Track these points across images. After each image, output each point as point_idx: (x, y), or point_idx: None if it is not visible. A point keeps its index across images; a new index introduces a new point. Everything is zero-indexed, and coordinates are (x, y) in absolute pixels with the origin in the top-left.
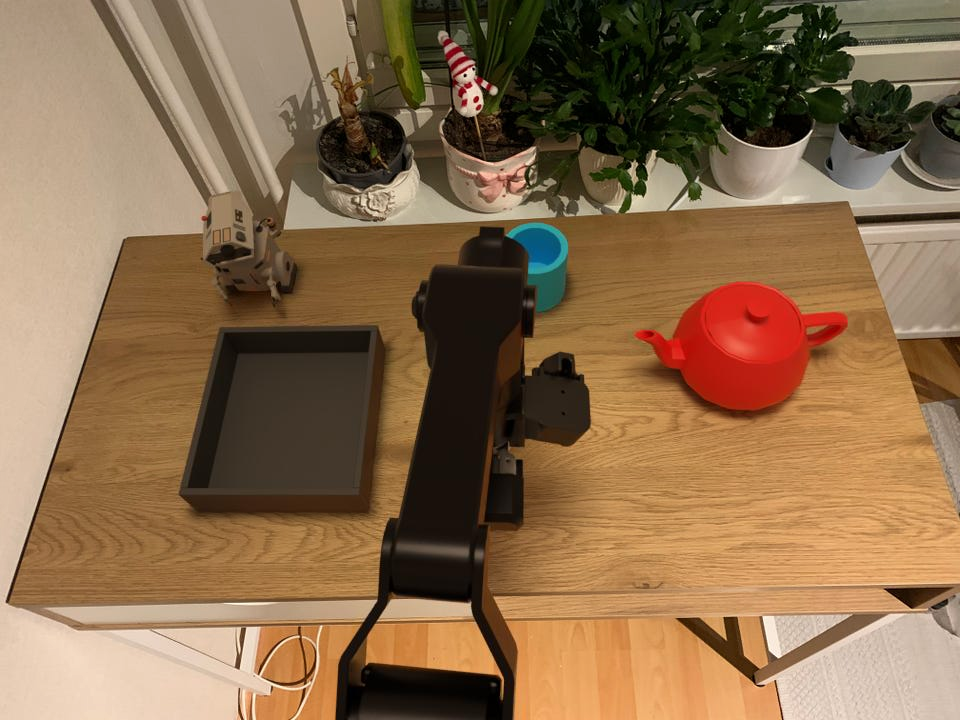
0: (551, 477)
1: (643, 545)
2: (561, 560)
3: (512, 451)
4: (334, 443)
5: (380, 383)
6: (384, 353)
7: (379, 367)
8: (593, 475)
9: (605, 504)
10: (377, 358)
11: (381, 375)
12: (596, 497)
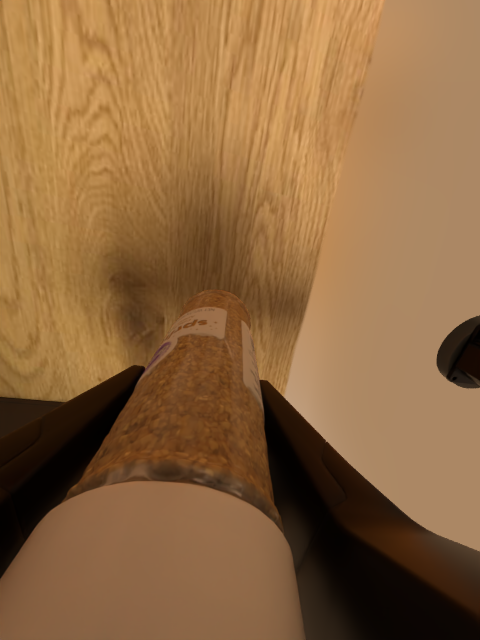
0: (181, 209)
1: (308, 75)
2: (298, 220)
3: (219, 401)
4: None
5: (47, 407)
6: (1, 400)
7: (20, 417)
8: (182, 136)
9: (232, 127)
10: (2, 431)
11: (35, 406)
12: (219, 141)
